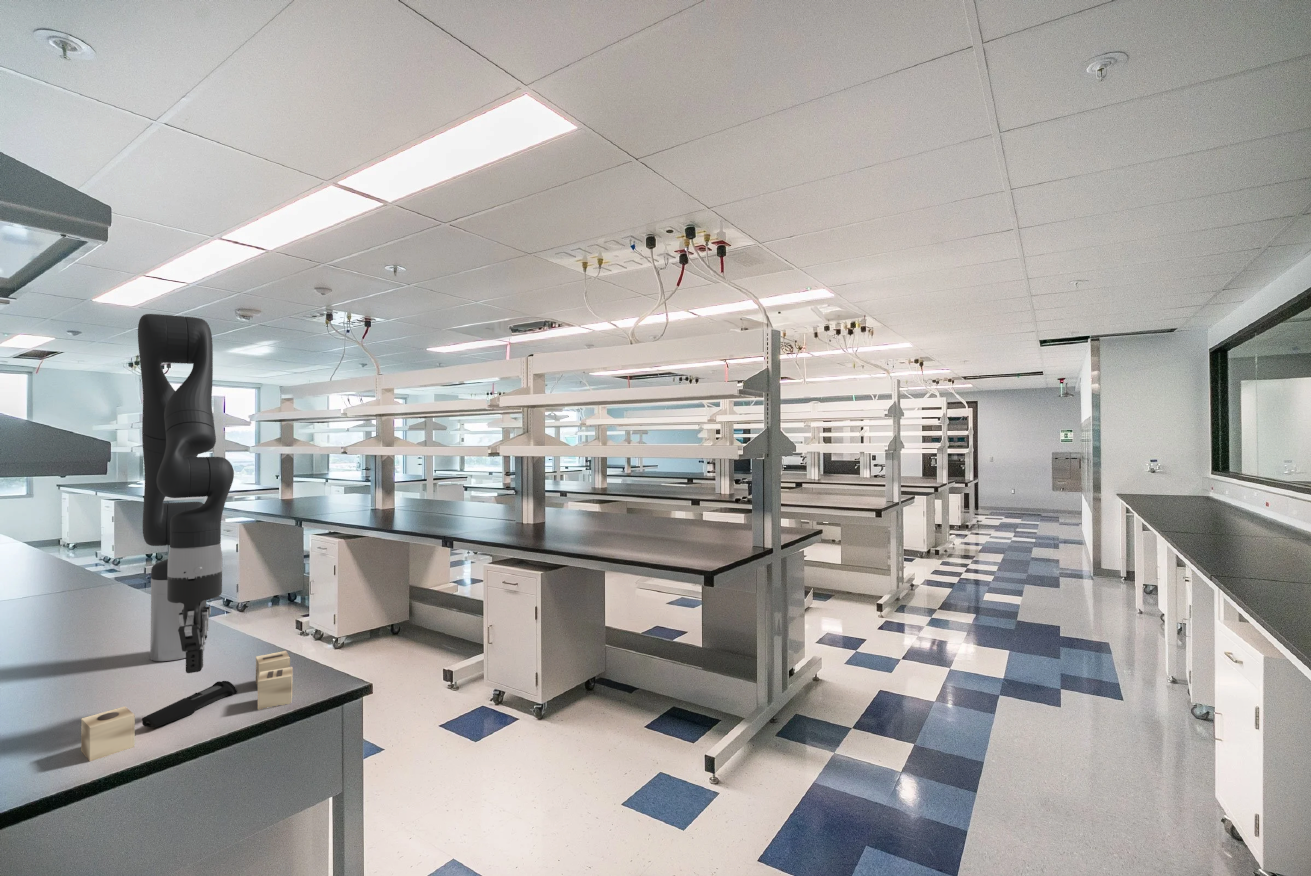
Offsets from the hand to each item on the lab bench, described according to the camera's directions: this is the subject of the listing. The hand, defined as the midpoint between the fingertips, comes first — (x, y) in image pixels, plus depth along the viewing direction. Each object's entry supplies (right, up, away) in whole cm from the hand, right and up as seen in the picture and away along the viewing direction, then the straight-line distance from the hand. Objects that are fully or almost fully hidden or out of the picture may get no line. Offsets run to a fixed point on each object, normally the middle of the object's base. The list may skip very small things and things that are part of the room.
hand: (194, 671), depth 102 cm
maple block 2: (+6, -7, +12) cm, 15 cm away
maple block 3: (+12, -7, +4) cm, 14 cm away
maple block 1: (-3, -7, -13) cm, 15 cm away
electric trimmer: (0, -7, 0) cm, 7 cm away
